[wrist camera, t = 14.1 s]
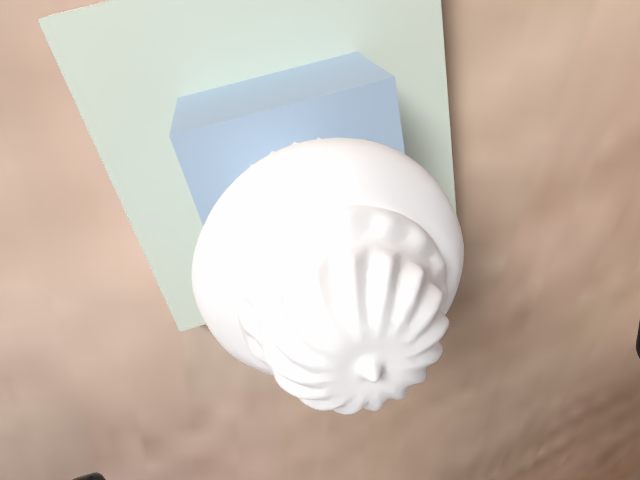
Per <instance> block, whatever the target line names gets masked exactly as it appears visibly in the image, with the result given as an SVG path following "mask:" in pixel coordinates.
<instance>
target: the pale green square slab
mask: <svg viewBox="0 0 640 480" xmlns="http://www.w3.org/2000/svg"><path fill="white" fill-rule="evenodd" d="M38 22H39V24H40V26H41V28H42V31H43V33H44V35H45V37H46V39H47V42H48V44H49V46H50V48H51V50H52V53H53V55H54V57H55V59H56V61H57V64H58V66H59V68H60V70H61V72H62V75H63V77H64V79H65V81H66V83H67V85H68V88H69V90H70V92H71V94H72V96H73V99H74V101H75V103H76V105H77V107H78V110H79V112H80V114H81V116H82V118H83V121H84V123H85V125H86V127H87V129H88V131H89V134H90V136H91V138H92V140H93V142H94V145H95V147H96V149H97V151H98V153H99V156H100V158H101V160H102V162H103V164H104V167H105V169H106V171H107V173H108V175H109V178H110V180H111V182H112V184H113V186H114V188H115V191H116V193H117V195H118V197H119V199H120V202H121V204H122V206H123V208H124V210H125V213H126V215H127V217H128V219H129V221H130V224H131V226H132V228H133V230H134V232H135V234H136V237H137V239H138V241H139V243H140V245H141V248H142V250H143V252H144V254H145V256H146V259H147V261H148V263H149V265H150V267H151V270H152V272H153V274H154V276H155V278H156V280H157V283H158V285H159V287H160V289H161V291H162V294H163V296H164V298H165V300H166V302H167V305H168V307H169V309H170V311H171V313H172V316H173V318H174V320H175V322H176V324H177V327H178V329H179V331H184V330H187V329H191V328H194V327H198V326H201V325H205V324H206V323H205V321H204V319H203V318H202V315H201V313H200V311H199V309H198V306H197V303H196V300H195V297H194V292H193V287H192V261H193V256H194V251H195V247H196V244H197V241H198V238H199V235H200V233H201V230H202V228H203V224H202V222H201V219H200V216H199V214H198V211H197V208H196V206H195V203H194V201H193V198H192V195H191V193H190V190H189V187H188V185H187V182H186V179H185V177H184V174H183V171H182V169H181V166H180V163H179V161H178V158H177V155H176V153H175V150H174V147H173V145H172V142H171V139H170V137H169V134H170V130H171V125H172V121H173V116H174V112H175V107H176V103H177V98H178V97H182V96H186V95H190V94H194V93H198V92H202V91H206V90H209V89H213V88H217V87H221V86H225V85H229V84H233V83H237V82H240V81H244V80H248V79H252V78H256V77H260V76H264V75H267V74H271V73H275V72H279V71H283V70H287V69H291V68H295V67H298V66H302V65H306V64H310V63H314V62H318V61H322V60H326V59H329V58H333V57H337V56H341V55H345V54H349V53H353V52H359V53H360V54H362V55H363V56H365V57H366V58H368V59H369V60H371V61H372V62H374V63H375V64H377V65H378V66H380V67H381V68H383V69H384V70H386V71H387V72H389V73H390V74H392V75H393V76H395V80H396V88H397V96H398V104H399V112H400V120H401V127H402V135H403V143H404V151H405V155H407V156H408V157H410V158H411V159H413V160H414V161H415V162H417V163H418V164H419V165H421V166H422V167H423V168H424V169H425V170H426V171H427V172H428V173H429V174H430V175H431V176H432V177H433V178H434V179H435V180H436V181H437V183H438V184H439V185H440V187H441V188H442V190H443V191H444V193H445V194H446V196H447V197H448V199H449V201H450V203H451V205H452V207H453V209H454V211H455V213H456V201H455V187H454V173H453V160H452V146H451V132H450V118H449V105H448V91H447V77H446V63H445V50H444V36H443V22H442V8H441V0H108V1H104V2H100V3H96V4H92V5H88V6H83V7H79V8H75V9H71V10H67V11H63V12H58V13H54V14H51V15H48V16H45V17H43V18H40V19H38Z"/></svg>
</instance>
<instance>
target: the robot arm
mask: <svg viewBox="0 0 640 480" xmlns="http://www.w3.org/2000/svg"><path fill="white" fill-rule="evenodd" d="M636 350H637V354H638V356H639V358H640V322H639V329H638V335H637V341H636ZM73 480H105V478H104V477H103V476H102V475H101V474H100V473H97V472H96V473H91V474H88V475H84V476H81V477H77V478H75V479H73Z"/></svg>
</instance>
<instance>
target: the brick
mask: <svg viewBox="0 0 640 480" xmlns="http://www.w3.org/2000/svg"><path fill="white" fill-rule="evenodd" d="M169 137H170V139H171V142H172V145H173V147H174V150H175V153H176V155H177V158H178V161H179V163H180V166H181V169H182V171H183V174H184V177H185V179H186V182H187V185H188V187H189V190H190V193H191V195H192V198H193V201H194V203H195V206H196V208H197V211H198V214H199V216H200V219H201V222H202V224H203V226H204V224H205V222H206V220H207V218H208V215H209V214H210V212H211V210H212V208H213V207H214V205H215V204H216V202H217V201H218V199H219V198H220V197H221V195H222V194H223V193H224V192H225V190H226V189H227V188H228V187H229V186H230V185H231V184H232V183H233V182H234V181H235V180H236V179H237V178H238V177H239V176H240V175H241V174H242V173H243V172H244V171H246V170H247V169H248V168H249V167H250V165H252V164H255V163H256V162H258V161H259V160H261V159H262V158H264V157H266V156H268V155H269V154H270V153H271V151H277V150H279V149H282V148H284V147H287V146H290V145H292V144H293V143H294V142H296V143H300V142H304V141H309V140H316V139H317V138H321V139H324V138H335V137H337V138H354V139H363V140H368V141H373V142H377V143H380V144H383V145H386V146H389V147H391V148H393V149H396V150H398V151H400V152H402V153H403V154H405V151H404V143H403V135H402V127H401V120H400V112H399V104H398V96H397V88H396V80H395V76H393V75H392V74H390V73H389V72H387V71H386V70H384V69H383V68H381V67H380V66H378V65H377V64H375V63H374V62H372V61H371V60H369V59H368V58H366V57H365V56H363V55H362V54H360V53H359V52H353V53H349V54H345V55H341V56H337V57H333V58H329V59H326V60H322V61H318V62H314V63H310V64H306V65H302V66H298V67H295V68H291V69H287V70H283V71H279V72H275V73H271V74H267V75H264V76H260V77H256V78H252V79H248V80H244V81H240V82H237V83H233V84H229V85H225V86H221V87H217V88H213V89H209V90H206V91H202V92H198V93H194V94H190V95H186V96H182V97H178V98H177V103H176V107H175V112H174V116H173V121H172V125H171V130H170V134H169Z"/></svg>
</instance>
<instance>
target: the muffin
mask: <svg viewBox="0 0 640 480" xmlns="http://www.w3.org/2000/svg"><path fill="white" fill-rule="evenodd" d="M463 261H464V243H463V236H462V231H461V227H460V224H459V221H458V218H457V215H456V213H455V211H454V209H453V207H452V205H451V203H450V201H449V199H448V197H447V196H446V194H445V193H444V191H443V190H442V188H441V187H440V185H439V184H438V183H437V181H436V180H435V179H434V178H433V177H432V176H431V175H430V174H429V173H428V172H427V171H426V170H425V169H424V168H423V167H422V166H421V165H419V164H418V163H417V162H415V161H414V160H413V159H411V158H410V157H408V156H407V155H405V154H403V153H402V152H400V151H398V150H396V149H393V148H391V147H389V146H386V145H383V144H380V143H377V142H373V141H368V140H363V139H354V138H337V137H335V138H324V139H321V138H317V139H316V140H309V141H304V142H300V143H296V142H294V143H293V144H292V145H290V146H287V147H284V148H282V149H279V150H277V151H271V153H270V154H269V155H268V156H266V157H264V158H262V159H261V160H259V161H258V162H256V163H255V164H252V165H250V167H249V168H248V169H247V170H246V171H244V172H243V173H242V174H241V175H240V176H239V177H238V178H237V179H236V180H235V181H234V182H233V183H232V184H231V185H230V186H229V187H228V188H227V189H226V190H225V192H224V193H223V194H222V195H221V197H220V198H219V199H218V201H217V202H216V204H215V205H214V207H213V208H212V210H211V212H210V214H209V215H208V218H207V220H206V222H205V224H204V226H203V228H202V230H201V233H200V235H199V238H198V241H197V244H196V247H195V251H194V256H193V261H192V287H193V292H194V297H195V300H196V303H197V306H198V309H199V311H200V313H201V315H202V318H203V319H204V321H205V323H206V325H207V326H208V328H209V330H210V331H211V333H212V334H213V335H214V337H215V338H216V339H217V340H218V342H219V343H220V344H221V345H222V346H223V347H224V348H225V349H226V350H227V351H228V352H229V353H230V354H231V355H233V356H234V357H235V358H237V359H238V360H240V361H241V362H243V363H245V364H247V365H249V366H251V367H253V368H255V369H257V370H259V371H262V372H264V373H267V374H270V375H273V376H274V377H275V379H276V382H277V383H278V384H279V386H280V387H281V388H282V389H284V390H285V391H286V392H288V393H289V394H291V395H293V396H295V397H298V398H299V399H300V400H301V401H302V402H303V403H304V404H306V405H307V406H309V407H312V408H314V409H316V410H321V411H329V410H334V411H335V412H338V413H341V414H344V415H350V414H354V413H356V412H357V411H359V410H360V409H361V408H365V409H368V410H371V411H376V410H379V409H380V408H381V407H382V406H383V404H384V403H385V402H386V401H387V400H388V399H398V400H401V399H403V398H404V397H405V395H406V392H407V389H408V387H409V386H410V385H414V384H419V383H422V382H423V381H425V380H426V377H427V371H426V367H427V366H429V365H431V364H433V363H435V362H436V361H437V360H439V358H440V357H441V355H442V353H443V348H442V346H441V343H440V342H439V340H440V339H441V338H442V337H443V335H444V334H445V332H446V331H447V329H448V327H449V320H448V318H447V317H446V313H447V311H448V310H449V308H450V306H451V304H452V302H453V300H454V297H455V295H456V292H457V289H458V286H459V282H460V279H461V274H462V269H463Z"/></svg>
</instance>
